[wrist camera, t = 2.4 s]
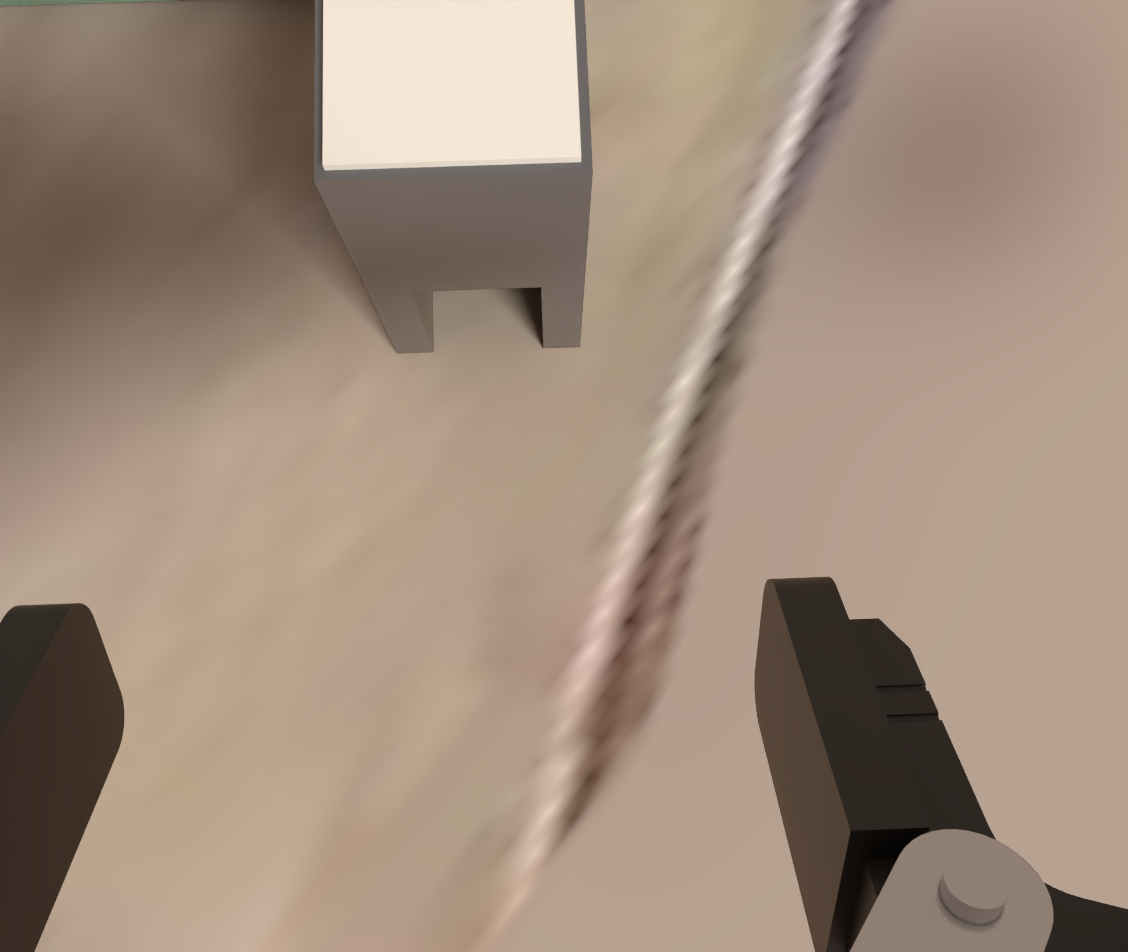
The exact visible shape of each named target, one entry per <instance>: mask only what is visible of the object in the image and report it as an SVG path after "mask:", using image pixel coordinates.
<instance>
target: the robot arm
mask: <svg viewBox="0 0 1128 952" xmlns="http://www.w3.org/2000/svg"><path fill="white" fill-rule="evenodd" d="M925 685H926V684H925V681H924V679H923V677H922V675H921V672H920V670H919V668H918V666H917V663H916V661H915V659H914V657H913V654H912V652H911V650H910V648H909V647H908V646H907V645H906V644H905V643H904V642H903V641H902V640H901V639H899V638H898V637H897V636H896V635H895V634H894V633H893V632H892V631H891V630H890V629H889V628H888V627H887V626H886V625H885V624H884V623H883V622H882V621H881V620H880V619H853V620H849V618H848V615H847V613H846V610H845V608H844V605H843V602H842V600H841V597H840V595H839V592H838V589H837V587H836V585H835V582H834V581H833V579H832V578H830V577H814V578H813V577H812V578H786V579H769V580H767V582H766V584H765V588H764V594H763V603H762V612H761V621H760V630H759V640H758V648H757V658H756V667H755V701H756V710H757V717H758V722H759V727H760V731H761V735H762V739H763V743H764V747H765V751H766V755H767V759H768V763H769V767H770V772H771V776H772V780H773V783H774V788H775V792H776V796H777V799H778V804H779V808H780V812H781V816H782V820H783V824H784V828H785V832H786V836H787V840H788V844H789V848H790V852H791V856H792V860H793V864H794V868H795V872H796V876H797V880H798V884H799V888H800V892H801V896H802V900H803V904H804V909H805V913H806V917H807V921H808V924H809V928H810V933H811V937H812V941H813V944H814V949H815V952H1128V909H1124V908H1120V907H1116V906H1112V905H1108V904H1103V903H1100V902H1096V901H1092V900H1088V899H1084V898H1080V897H1077V896H1074V895H1070V894H1067V893H1065V892H1063V891H1060V890H1058V889H1056V888H1053V887H1051V886H1050V885H1048V884H1046V883H1044V882H1043V881H1042V879H1041V878H1040V876H1039V874H1038V873H1037V872H1036V871H1035V870H1034V869H1033V868H1032V866H1031V865H1030V864H1029V863H1028V862H1027V861H1026V860H1025V859H1024V858H1022V857H1021V856H1020V855H1019V854H1018V853H1016V852H1015V851H1013V850H1012V849H1011V848H1009V847H1008V846H1006V845H1004V844H1002V843H1001V842H999V841H997V840H996V839H995V837H994V835H993V834H992V832H991V830H990V828H989V826H988V823H987V821H986V819H985V817H984V815H983V812H982V810H981V808H980V806H979V803H978V801H977V799H976V796H975V794H974V792H973V790H972V788H971V785H970V783H969V781H968V778H967V776H966V774H965V772H964V769H963V767H962V765H961V763H960V760H959V758H958V756H957V754H956V751H955V749H954V747H953V745H952V743H951V740H950V738H949V735H948V733H947V731H946V729H945V727H944V724H943V722H942V720H939V718H938V711H937V709H936V706H935V704H934V702H933V700H932V697H931V695H930V693H929V691H926V687H925ZM123 728H124V705H123V699H122V695H121V691H120V689H119V686H118V683H117V680H116V678H115V675H114V672H113V669H112V667H111V664H110V661H109V658H108V655H107V653H106V650H105V647H104V644H103V642H102V639H101V636H100V633H99V631H98V628H97V625H96V622H95V620H94V617H93V615H92V613H91V611H90V609H89V608H88V607H87V606H86V605H84V604H81V603H75V604H48V605H22V606H15V607H13V608H11V609H10V610H9V611H8V612H7V614H6V615H5V616H4V618H3V619H2V621H1V623H0V952H34V951H35V949H36V947H37V944H38V942H39V939H40V937H41V935H42V932H43V930H44V927H45V925H46V923H47V920H48V918H49V915H50V913H51V911H52V908H53V906H54V903H55V901H56V899H57V896H58V894H59V891H60V889H61V887H62V884H63V882H64V879H65V877H66V875H67V872H68V870H69V867H70V865H71V863H72V860H73V858H74V855H75V853H76V851H77V848H78V846H79V843H80V841H81V839H82V836H83V834H84V831H85V829H86V827H87V824H88V822H89V819H90V817H91V815H92V812H93V810H94V807H95V805H96V803H97V800H98V798H99V795H100V793H101V791H102V788H103V786H104V783H105V781H106V779H107V776H108V774H109V771H110V769H111V767H112V764H113V762H114V759H115V757H116V755H117V752H118V750H119V747H120V744H121V740H122V735H123Z"/></svg>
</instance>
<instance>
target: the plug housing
mask: <svg viewBox="0 0 1128 952" xmlns="http://www.w3.org/2000/svg"><path fill="white" fill-rule="evenodd" d="M592 173H593V170H592V149H591V129H590V108H589V87H588V67H587V46H586V25H585V5H584V0H315V55H314V183H315V185H316V187H317V189H318V191H319V193H320V195H321V198H322V200H323V202H324V204H325V206H326V208H327V210H328V212H329V214H330V216H331V218H332V220H333V222H334V224H335V226H336V229H337V231H338V233H339V235H340V237H341V239H342V241H343V243H344V245H345V247H346V249H347V251H348V253H349V255H350V258H351V260H352V262H353V264H354V266H355V268H356V270H357V272H358V274H359V276H360V278H361V280H362V282H363V284H364V286H365V289H366V291H367V293H368V295H369V297H370V299H371V301H372V303H373V305H374V307H375V309H376V311H377V313H378V315H379V318H380V320H381V322H382V324H383V326H384V328H385V330H386V332H387V334H388V336H389V338H390V340H391V342H392V344H393V346H394V349H395V351H396V353H422V352H434V351H433V291H447V290H476V289H505V288H534V287H541V299H542V325H543V348H563V347H580V338H581V325H582V311H583V297H584V283H585V270H586V256H587V242H588V228H589V215H590V201H591V187H592Z"/></svg>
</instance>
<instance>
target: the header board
mask: <svg viewBox="0 0 1128 952" xmlns="http://www.w3.org/2000/svg"><path fill="white" fill-rule="evenodd" d="M144 1H177V0H0V6H11V5H44V4H78V3H111V2H144Z"/></svg>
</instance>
